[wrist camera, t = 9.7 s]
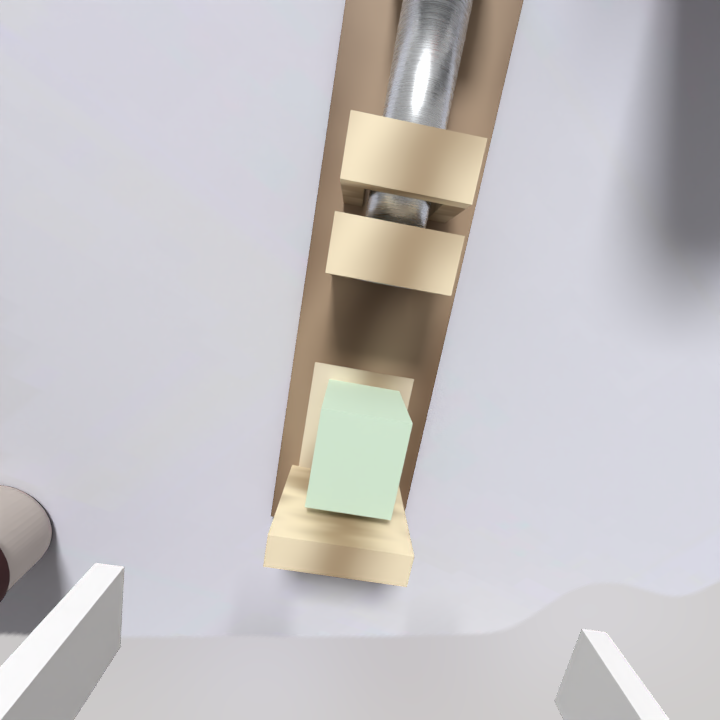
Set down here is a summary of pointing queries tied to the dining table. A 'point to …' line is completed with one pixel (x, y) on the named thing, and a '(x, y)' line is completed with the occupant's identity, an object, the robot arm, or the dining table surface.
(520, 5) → the jig
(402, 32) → the shaft
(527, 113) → the dining table surface
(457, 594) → the dining table surface
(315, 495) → the block
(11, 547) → the coffee cup
